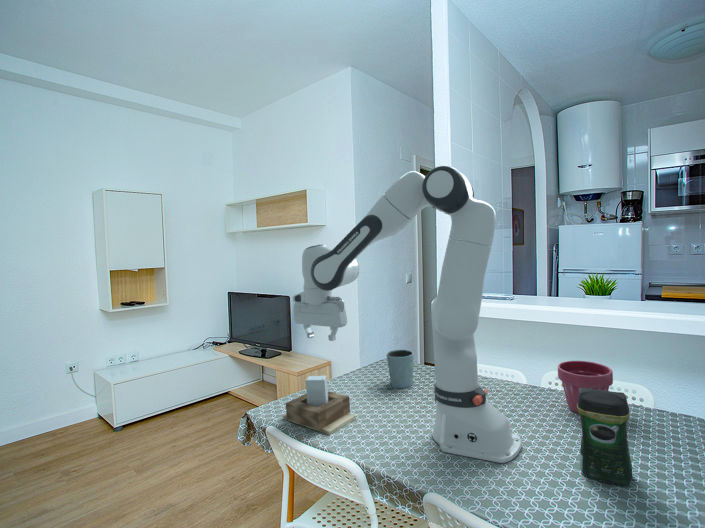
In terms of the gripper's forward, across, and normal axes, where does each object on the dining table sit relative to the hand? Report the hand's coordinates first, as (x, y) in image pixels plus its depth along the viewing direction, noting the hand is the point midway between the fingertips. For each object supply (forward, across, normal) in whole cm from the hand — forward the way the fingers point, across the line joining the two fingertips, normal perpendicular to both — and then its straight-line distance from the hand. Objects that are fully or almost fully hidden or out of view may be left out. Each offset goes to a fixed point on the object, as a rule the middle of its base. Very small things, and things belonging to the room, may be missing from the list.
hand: (321, 339), depth 122 cm
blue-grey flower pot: (+25, -8, -34) cm, 43 cm away
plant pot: (+25, -67, -42) cm, 83 cm away
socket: (+24, -1, +4) cm, 25 cm away
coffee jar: (+25, -75, -8) cm, 79 cm away
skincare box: (+23, 0, +4) cm, 24 cm away
